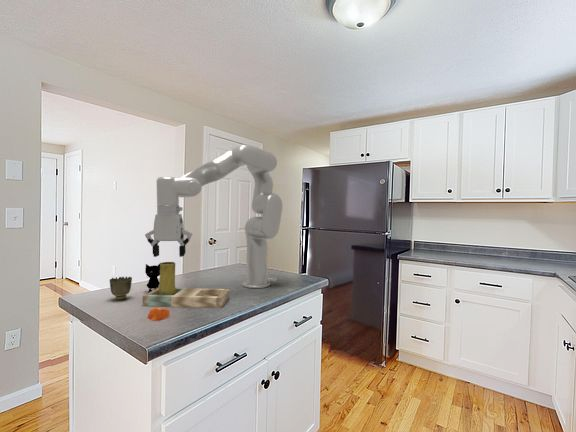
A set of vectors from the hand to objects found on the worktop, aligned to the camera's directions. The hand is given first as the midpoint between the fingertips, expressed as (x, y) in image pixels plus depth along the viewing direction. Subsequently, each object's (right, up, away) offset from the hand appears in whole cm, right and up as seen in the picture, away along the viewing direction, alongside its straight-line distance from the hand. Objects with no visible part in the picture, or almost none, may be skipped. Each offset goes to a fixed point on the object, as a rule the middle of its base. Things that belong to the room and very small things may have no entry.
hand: (169, 256), depth 109 cm
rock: (+3, -18, -16) cm, 25 cm away
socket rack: (+7, -17, 0) cm, 18 cm away
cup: (-19, -17, +1) cm, 25 cm away
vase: (-1, -17, 0) cm, 17 cm away
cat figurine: (-12, -17, +12) cm, 24 cm away
